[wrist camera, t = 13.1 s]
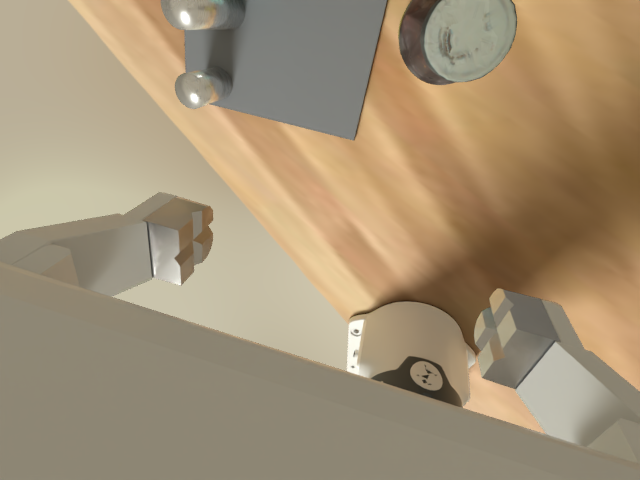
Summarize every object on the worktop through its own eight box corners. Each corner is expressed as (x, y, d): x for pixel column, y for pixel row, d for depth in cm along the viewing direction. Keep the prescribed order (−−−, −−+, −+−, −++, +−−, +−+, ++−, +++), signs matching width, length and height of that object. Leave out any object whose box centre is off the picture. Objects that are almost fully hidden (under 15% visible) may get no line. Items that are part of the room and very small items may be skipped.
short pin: (232, 101, 40) (205, 112, 35) (205, 94, 40) (175, 104, 35) (233, 70, 38) (205, 77, 33) (205, 64, 38) (174, 69, 33)
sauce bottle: (389, 56, 34) (366, 83, 18) (415, -21, 31) (415, -76, 14) (454, 76, 34) (492, 123, 17) (487, 1, 31) (572, -30, 14)
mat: (354, 138, 39) (353, 140, 39) (189, 97, 41) (186, 98, 41) (415, -121, 28) (415, -123, 27) (183, -162, 30) (179, -165, 29)
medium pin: (244, 32, 36) (198, 33, 28) (214, 25, 36) (162, 25, 28) (246, -6, 34) (198, -15, 26) (215, -12, 34) (159, -24, 27)
